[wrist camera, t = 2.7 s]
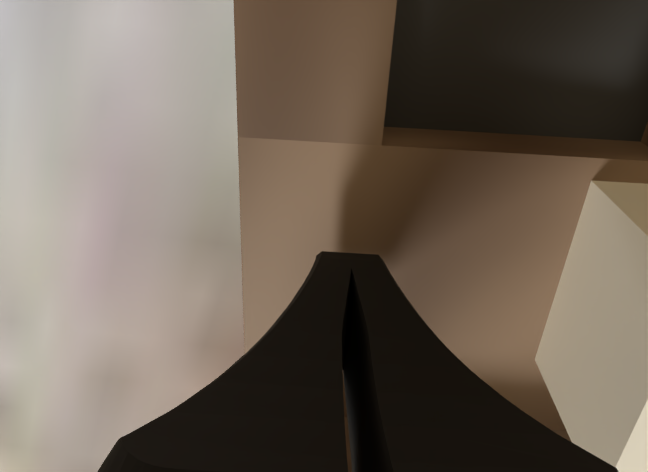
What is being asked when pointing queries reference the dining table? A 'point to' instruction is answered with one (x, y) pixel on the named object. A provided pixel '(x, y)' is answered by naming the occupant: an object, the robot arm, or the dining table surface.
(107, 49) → the dining table surface
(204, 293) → the dining table surface
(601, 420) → the cream block
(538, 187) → the trap box
